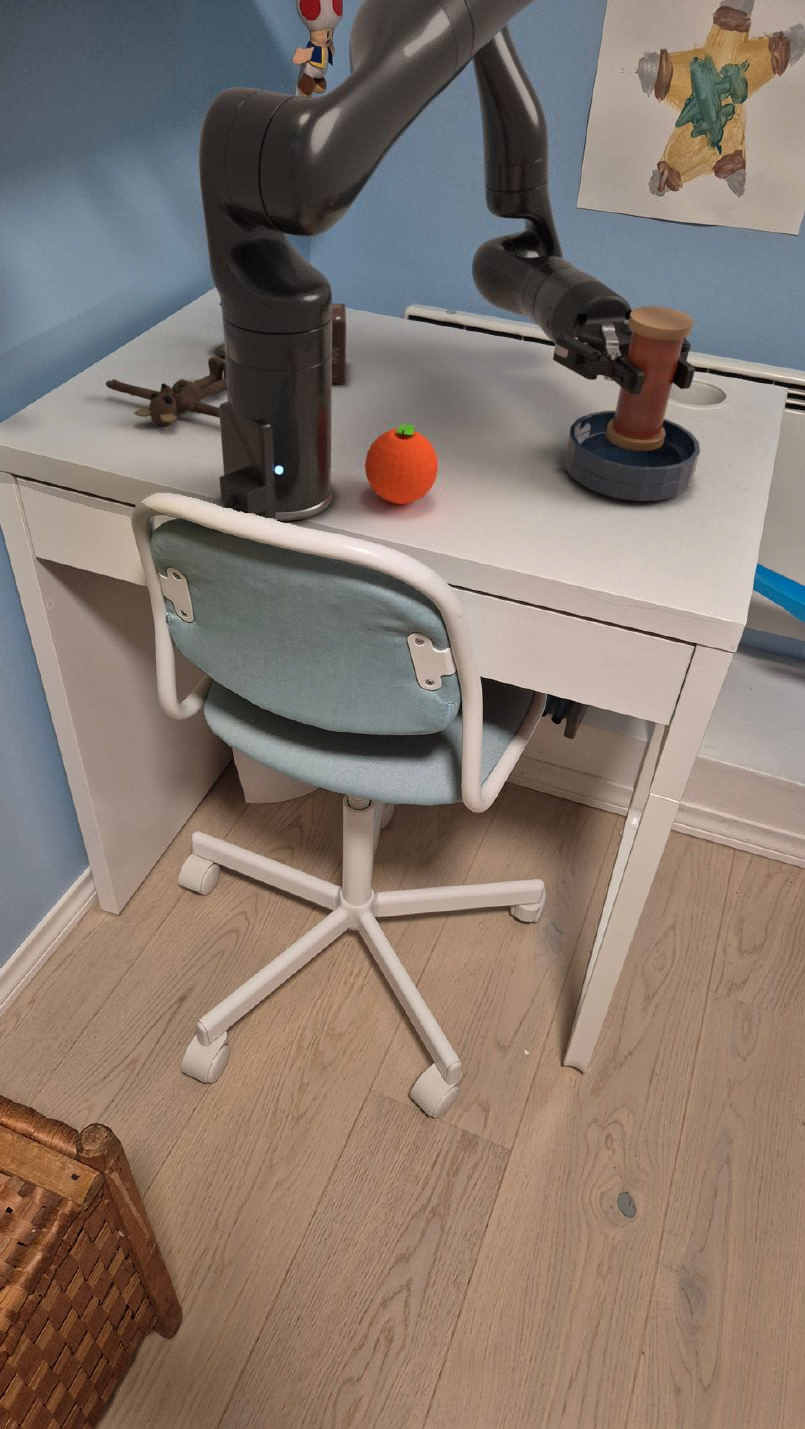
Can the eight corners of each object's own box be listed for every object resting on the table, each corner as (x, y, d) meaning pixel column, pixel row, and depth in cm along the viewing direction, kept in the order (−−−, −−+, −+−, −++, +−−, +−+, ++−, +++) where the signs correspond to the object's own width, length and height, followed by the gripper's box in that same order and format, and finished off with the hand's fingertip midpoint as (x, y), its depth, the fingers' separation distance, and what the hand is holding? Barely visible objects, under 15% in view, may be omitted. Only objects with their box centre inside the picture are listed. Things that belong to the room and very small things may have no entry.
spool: (641, 457, 96) (670, 334, 88) (594, 435, 99) (617, 315, 91) (674, 440, 99) (705, 320, 91) (627, 420, 102) (653, 302, 94)
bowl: (641, 520, 94) (651, 482, 92) (538, 469, 101) (543, 433, 98) (714, 479, 101) (724, 443, 99) (612, 434, 108) (620, 400, 105)
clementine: (376, 472, 99) (378, 405, 94) (443, 483, 98) (449, 415, 93) (355, 510, 93) (357, 440, 88) (427, 522, 92) (433, 452, 87)
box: (345, 365, 119) (346, 303, 114) (345, 385, 114) (346, 322, 109) (295, 363, 118) (294, 300, 113) (292, 383, 114) (291, 319, 109)
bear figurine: (295, 372, 108) (224, 409, 97) (294, 411, 111) (224, 450, 100) (158, 339, 113) (76, 370, 102) (160, 377, 116) (80, 411, 105)
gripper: (525, 284, 99) (605, 348, 88) (648, 275, 103) (740, 336, 92) (515, 357, 104) (590, 427, 93) (633, 346, 108) (718, 412, 97)
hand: (664, 381), depth 92 cm, fingers closed on spool, 4 cm apart
